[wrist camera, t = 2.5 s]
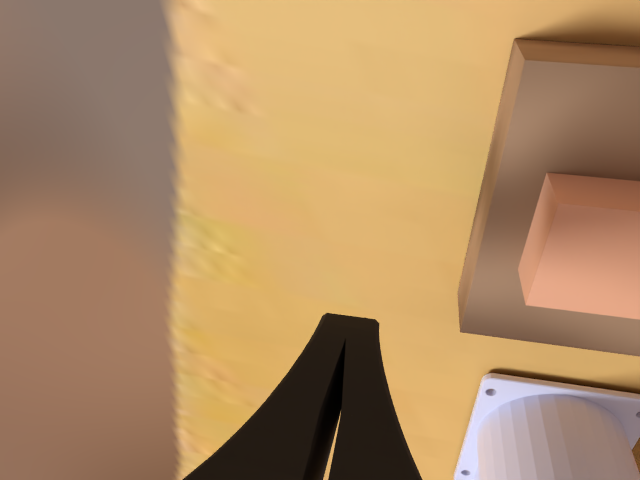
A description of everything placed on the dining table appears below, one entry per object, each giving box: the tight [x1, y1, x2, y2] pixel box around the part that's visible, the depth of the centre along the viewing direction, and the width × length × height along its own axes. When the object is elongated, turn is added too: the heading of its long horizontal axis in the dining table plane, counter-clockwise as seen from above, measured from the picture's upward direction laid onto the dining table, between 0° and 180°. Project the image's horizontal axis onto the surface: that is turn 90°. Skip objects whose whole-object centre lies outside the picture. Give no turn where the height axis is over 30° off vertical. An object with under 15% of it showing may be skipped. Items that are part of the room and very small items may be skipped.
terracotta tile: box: [518, 173, 640, 320], centre depth 17 cm, size 4×4×2 cm
